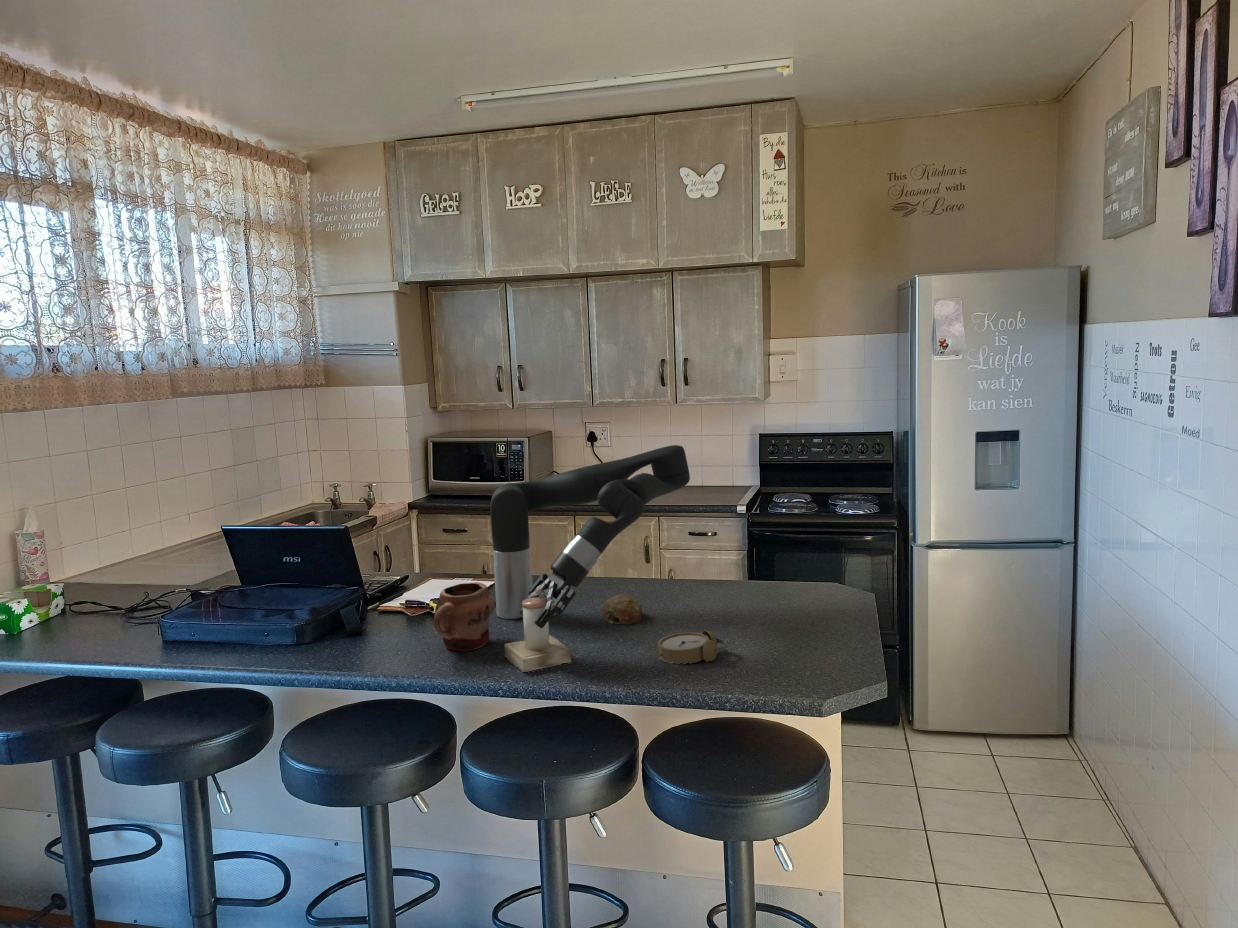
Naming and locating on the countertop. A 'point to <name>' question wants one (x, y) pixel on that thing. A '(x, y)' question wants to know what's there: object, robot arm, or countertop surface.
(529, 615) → the canister
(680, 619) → the countertop surface
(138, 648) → the countertop surface
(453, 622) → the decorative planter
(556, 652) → the plinth
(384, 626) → the countertop surface
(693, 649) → the alarm clock
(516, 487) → the robot arm
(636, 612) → the bread roll
